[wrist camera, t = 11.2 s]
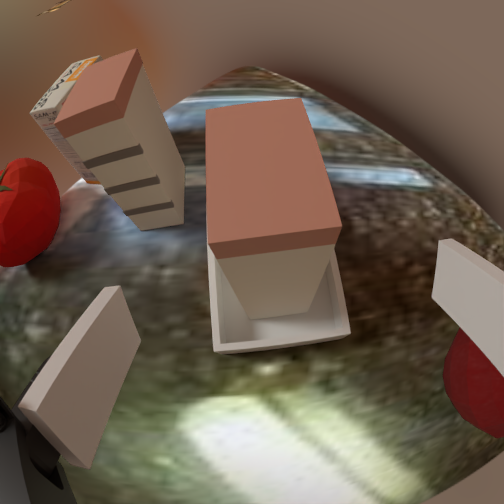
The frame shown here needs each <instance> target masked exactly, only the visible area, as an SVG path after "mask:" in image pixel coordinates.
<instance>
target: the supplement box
mask: <svg viewBox="0 0 504 504" xmlns="http://www.w3.org/2000/svg"><path fill="white" fill-rule="evenodd" d="M102 60H103V59H102V57H101V56H97V57H93V58H89V59H85V60H82V61H79V62H76V63H73V64H72V65H71V66H70V67H69V68H68V69H67V70H66V71H65V72H64V73H63V74H62V75H61V76H60V77H59V78H58V79H57V81H56V82H55V83H54V84H53V85H52V86H51V87H50V89H49V90H48V91H47V92H46V93H45V95H44V96H43V97H42V98H41V99H40V101H39V102H38V103H37V104H36V105H35V107H34V108H33V109H32V111H31V112H30V114H31V115H32V117H33V118H34V120H35V121H36V122H37V123H38V125H39V126H40V127H41V128H42V130H43V131H44V132H45V133H46V134H47V136H48V137H49V138H50V140H51V141H52V142H53V143H54V145H55V146H56V147H57V148H58V150H60V152H61V153H62V154H63V155H64V157H65V158H66V159H67V160H68V161H69V163H70V164H71V165H72V166H73V167H74V168H75V170H76V171H77V172H78V173H79V174H80V176H81V177H82V178H83V179H84V180H85V181H86V182H87V183H89V184H101V183H100V182H99V181H98V179H97V178H96V177H95V176H94V174H93V173H92V172H91V171H90V169H87V168H86V167H85V165H84V164H83V163H82V162H83V160H82V159H81V158H80V157H79V155H78V154H77V153H76V151H75V150H74V149H73V148H72V146H71V145H70V144H69V142H68V141H67V140H66V138H65V139H64V137H63V136H62V135H61V133H60V132H59V131H58V129H57V128H56V127H55V125H54V122H55V120H56V118H57V116H58V114H59V112H60V110H61V108H62V106H63V105H64V103H65V101H66V99H67V97H68V96H69V94H70V92H71V90H72V89H73V87H74V85H75V83H76V82H77V80H78V79H79V77H80V75H81V74H82V72H83V71H84V69H85V68H86V67H88V66H90V65H93V64H95V63H97V62H100V61H102Z"/></svg>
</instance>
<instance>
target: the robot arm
mask: <svg viewBox="0 0 504 504" xmlns="http://www.w3.org/2000/svg"><path fill="white" fill-rule="evenodd" d="M432 298H433V299H434V300H435V301H436V302H437V304H438V305H439V306H440V307H441V308H442V309H443V310H444V311H445V312H446V313H447V314H448V315H449V316H450V317H451V318H452V319H453V320H454V321H455V322H456V323H457V324H458V325H459V326H460V327H461V328H462V330H463V331H464V332H465V333H466V334H467V335H468V336H469V337H470V338H471V339H472V340H473V342H474V343H475V344H476V345H477V346H478V347H479V348H480V349H481V351H482V352H483V353H484V354H485V355H486V356H487V358H488V359H489V360H490V361H491V362H492V363H493V365H494V366H495V367H496V368H497V369H498V371H499V372H500V373H501V374H502V375H503V377H504V272H503V271H502V270H500V269H499V268H497V267H496V266H494V265H493V264H492V263H490V262H488V261H487V260H485V259H484V258H482V257H481V256H479V255H478V254H476V253H475V252H473V251H471V250H470V249H468V248H467V247H465V246H463V245H462V244H460V243H458V242H457V241H455V240H453V239H452V238H451V239H445V240H439V244H438V254H437V263H436V271H435V278H434V285H433V291H432ZM140 342H141V340H140V337H139V335H138V332H137V330H136V327H135V325H134V322H133V320H132V317H131V314H130V312H129V309H128V306H127V304H126V301H125V298H124V295H123V292H122V289H121V287H120V286H112V287H104V289H103V290H102V291H101V292H100V293H99V295H98V296H97V297H96V298H95V300H94V301H93V302H92V303H91V305H90V306H89V307H88V308H87V310H86V311H85V312H84V313H83V315H82V316H81V317H80V318H79V320H78V321H77V322H76V324H75V325H74V326H73V327H72V329H71V330H70V331H69V333H68V334H67V335H66V337H65V338H64V339H63V341H62V342H61V343H60V345H59V346H58V348H57V349H56V350H55V352H54V353H53V354H52V355H51V356H50V357H48V358H47V359H46V360H45V361H44V362H43V363H42V365H41V366H40V368H39V369H38V370H37V374H36V373H35V375H34V376H33V378H32V379H31V380H32V381H31V382H29V384H28V385H27V387H26V388H25V390H24V391H23V393H22V394H21V396H20V397H19V399H18V400H17V402H16V404H15V405H14V407H13V408H12V410H10V408H9V407H8V406H7V405H6V403H5V402H4V401H3V399H2V398H1V397H0V504H77V502H76V500H75V498H74V495H73V493H72V490H71V488H70V485H69V483H68V480H67V477H66V475H65V472H64V469H63V467H62V465H61V464H60V463H59V462H58V459H59V456H60V455H61V456H62V457H63V458H65V459H66V460H67V461H68V462H69V463H70V464H71V465H74V466H78V467H82V468H86V469H90V468H91V465H92V462H93V459H94V456H95V453H96V451H97V448H98V445H99V442H100V440H101V437H102V434H103V432H104V429H105V426H106V424H107V421H108V418H109V416H110V413H111V411H112V408H113V406H114V403H115V401H116V398H117V396H118V393H119V391H120V388H121V386H122V384H123V381H124V379H125V376H126V374H127V372H128V369H129V367H130V365H131V362H132V360H133V358H134V356H135V353H136V351H137V349H138V347H139V344H140Z"/></svg>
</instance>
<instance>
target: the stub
mask: <svg viewBox="0 0 504 504" xmlns="http://www.w3.org/2000/svg"><path fill="white" fill-rule="evenodd" d="M206 202H207V234H208V245H209V247H210V249H211V250H212V252H213V254H214V256H215V258H216V260H217V262H218V263H219V265H220V267H221V269H222V271H223V273H224V274H225V276H226V278H227V280H228V282H229V283H230V285H231V287H232V289H233V291H234V293H235V294H236V296H237V298H238V300H239V301H240V303H241V305H242V307H243V309H244V310H245V312H246V314H247V316H248V317H249V319H250V320H253V319H261V318H269V317H277V316H285V315H292V314H299V313H306V312H308V310H309V308H310V305H311V303H312V301H313V298H314V296H315V294H316V291H317V289H318V286H319V284H320V282H321V279H322V277H323V274H324V272H325V269H326V267H327V264H328V262H329V259H330V257H331V254H332V252H333V249H334V247H335V244H336V242H337V239H338V236H339V234H340V231H341V228H342V223H341V220H340V216H339V212H338V209H337V205H336V202H335V198H334V195H333V191H332V188H331V185H330V181H329V178H328V175H327V171H326V168H325V165H324V162H323V159H322V156H321V153H320V150H319V147H318V144H317V141H316V138H315V135H314V132H313V129H312V127H311V124H310V121H309V118H308V115H307V113H306V110H305V107H304V105H303V102H302V99H301V98H295V99H283V100H272V101H263V102H254V103H247V104H239V105H233V106H226V107H220V108H214V109H209V110H206Z"/></svg>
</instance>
